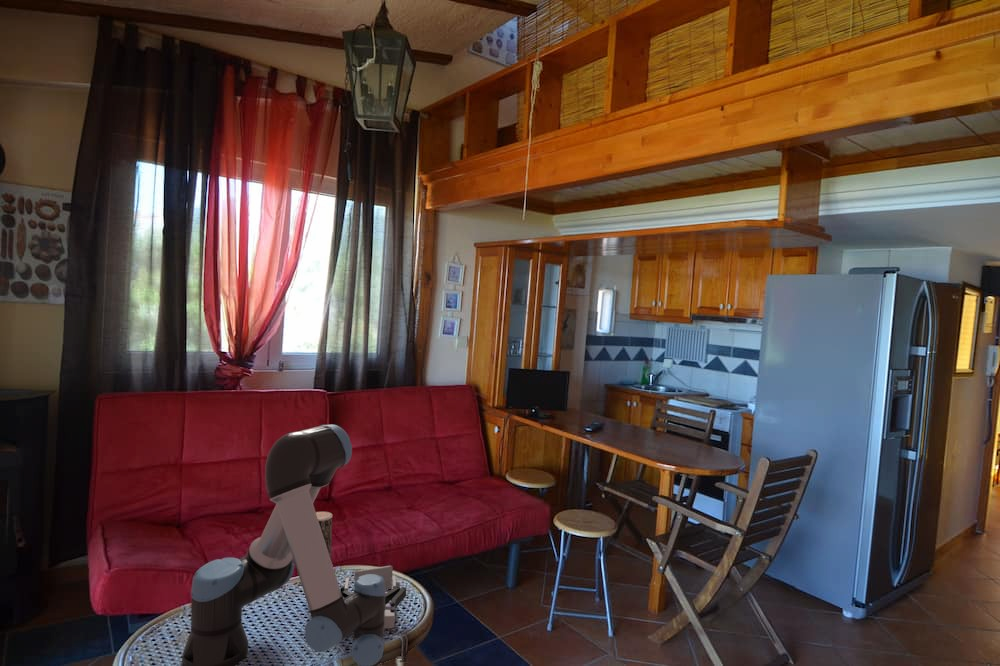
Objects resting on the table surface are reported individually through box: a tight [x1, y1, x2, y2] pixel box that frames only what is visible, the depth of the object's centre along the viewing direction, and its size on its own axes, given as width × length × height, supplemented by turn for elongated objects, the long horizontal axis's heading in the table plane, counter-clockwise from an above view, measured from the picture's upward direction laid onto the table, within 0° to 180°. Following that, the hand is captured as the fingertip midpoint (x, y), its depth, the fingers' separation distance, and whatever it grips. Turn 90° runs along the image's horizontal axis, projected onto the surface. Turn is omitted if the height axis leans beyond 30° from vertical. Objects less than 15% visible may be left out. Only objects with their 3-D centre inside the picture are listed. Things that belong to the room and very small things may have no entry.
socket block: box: [384, 591, 396, 629], centre depth 170 cm, size 14×14×4 cm
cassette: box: [353, 565, 393, 591], centre depth 184 cm, size 12×2×8 cm, turn 115°
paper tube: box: [315, 511, 333, 560], centre depth 181 cm, size 7×7×25 cm
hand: (370, 580), depth 172 cm, fingers open, 13 cm apart
